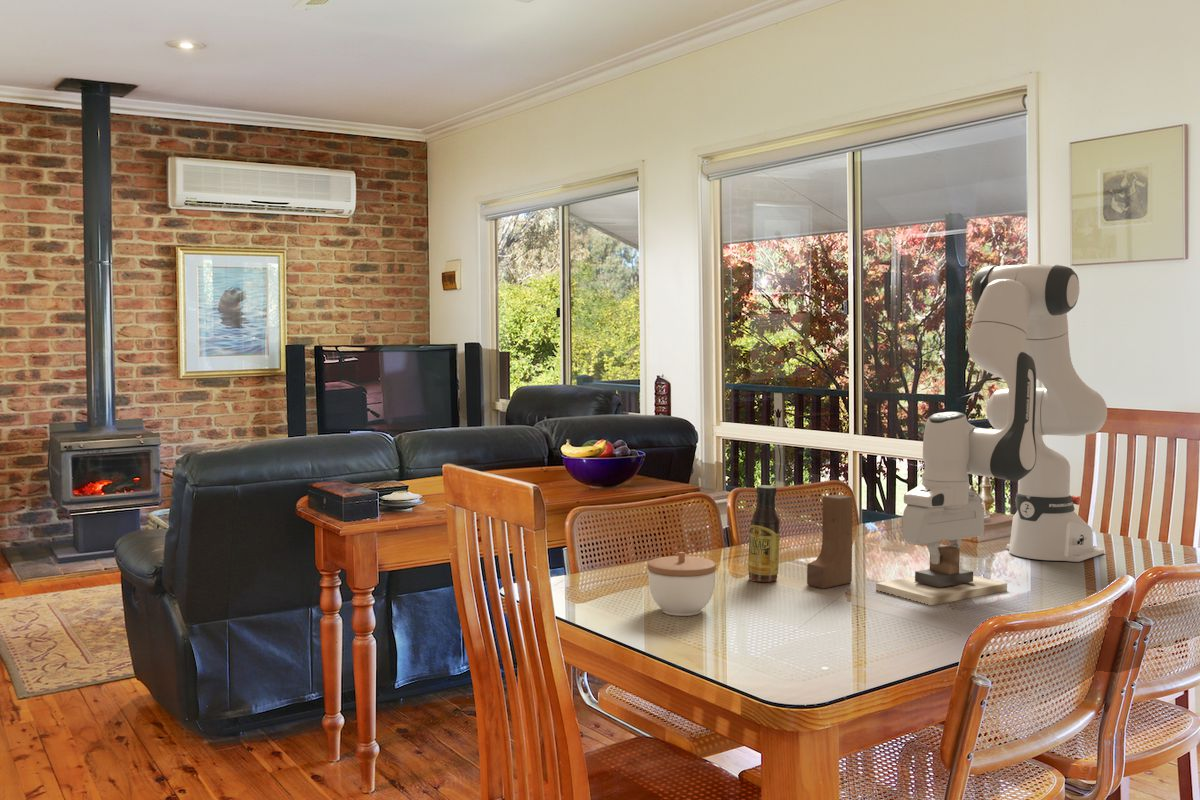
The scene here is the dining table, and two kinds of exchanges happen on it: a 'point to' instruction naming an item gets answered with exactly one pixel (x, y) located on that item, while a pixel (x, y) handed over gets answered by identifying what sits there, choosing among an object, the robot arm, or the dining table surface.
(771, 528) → the sauce bottle
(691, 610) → the lidded bowl
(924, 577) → the block
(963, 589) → the birch board
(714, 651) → the dining table surface
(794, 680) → the dining table surface
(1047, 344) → the robot arm
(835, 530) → the wooden block
